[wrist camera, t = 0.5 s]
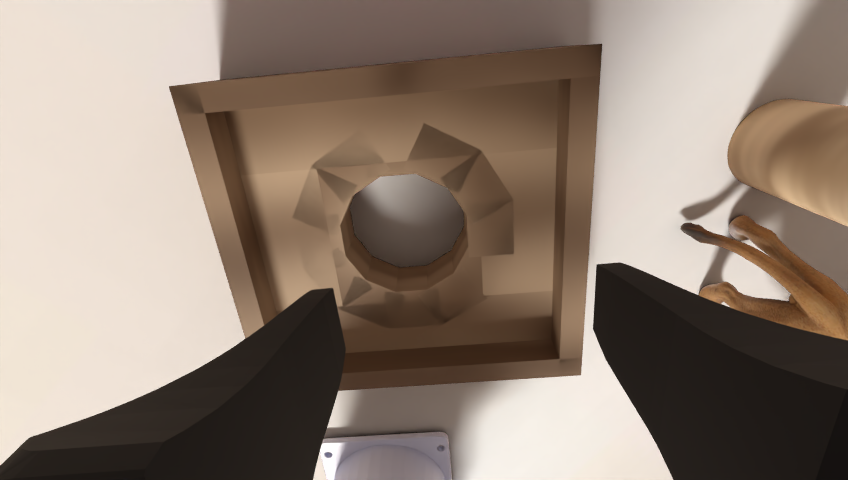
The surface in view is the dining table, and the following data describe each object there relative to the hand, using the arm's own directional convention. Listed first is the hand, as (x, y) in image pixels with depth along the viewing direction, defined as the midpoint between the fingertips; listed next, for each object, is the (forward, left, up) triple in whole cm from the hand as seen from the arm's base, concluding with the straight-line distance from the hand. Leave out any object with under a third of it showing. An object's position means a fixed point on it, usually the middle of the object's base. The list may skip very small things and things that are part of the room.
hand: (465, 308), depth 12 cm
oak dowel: (+1, -15, -10) cm, 18 cm away
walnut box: (-1, +2, -10) cm, 10 cm away
